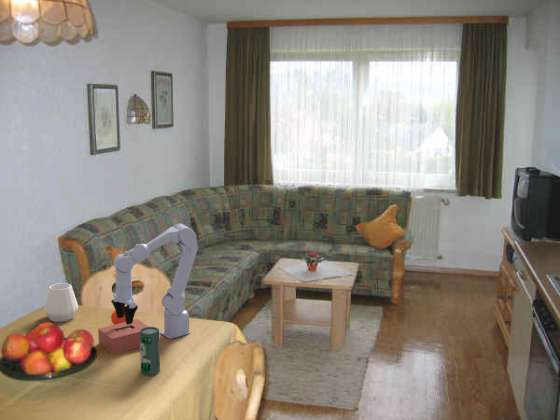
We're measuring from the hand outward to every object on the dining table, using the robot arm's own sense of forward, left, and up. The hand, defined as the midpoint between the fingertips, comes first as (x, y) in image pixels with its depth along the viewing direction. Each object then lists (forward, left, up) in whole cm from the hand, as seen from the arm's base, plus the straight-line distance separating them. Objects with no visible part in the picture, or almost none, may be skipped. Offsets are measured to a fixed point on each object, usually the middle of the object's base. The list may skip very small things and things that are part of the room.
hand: (124, 320), depth 213 cm
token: (0, 0, -9) cm, 9 cm away
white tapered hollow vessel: (+10, -40, -9) cm, 42 cm away
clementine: (-6, -17, -9) cm, 20 cm away
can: (+3, +26, -9) cm, 28 cm away
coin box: (0, 0, -9) cm, 9 cm away
